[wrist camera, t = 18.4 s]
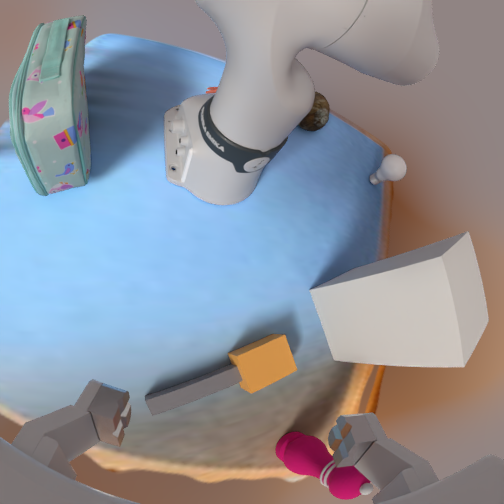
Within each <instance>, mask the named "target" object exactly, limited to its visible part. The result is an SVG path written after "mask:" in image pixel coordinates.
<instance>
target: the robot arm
mask: <svg viewBox="0 0 504 504" xmlns="http://www.w3.org/2000/svg"><path fill="white" fill-rule="evenodd" d="M195 2H196V3H197V5H198V6H199V7H200V8H201V9H202V10H203V11H204V12H205V13H206V14H207V15H208V16H209V17H210V18H211V19H212V20H213V22H214V23H215V24H216V26H217V27H218V29H219V30H220V33H221V35H222V37H223V40H224V43H225V46H226V64H225V68H224V71H223V74H222V77H221V80H220V83H219V85H218V87H210V88H207V89H210V90H209V91H206V93H207V94H202V95H196V96H192V97H190V98H187V99H186V100H184V101H183V102H182V103H181V104H180V105H177V106H175V107H173V108H171V109H169V110H168V111H166V112H165V114H164V146H165V166H166V178H167V180H168V181H169V182H171V183H173V184H175V185H178V186H181V187H184V188H186V189H187V190H189V191H190V192H191V193H192V194H194V195H195V196H196V197H198V198H200V199H201V200H203V201H206V202H208V203H212V204H216V205H231V204H236V203H239V202H241V201H243V200H245V199H246V198H247V197H249V196H250V195H251V193H252V192H253V191H254V189H255V187H256V184H257V181H258V178H259V176H260V174H261V172H262V170H263V168H264V167H265V165H266V164H267V163H269V162H270V161H271V160H272V159H273V158H274V156H275V155H276V154H277V153H278V152H279V151H280V149H281V148H282V147H283V146H284V144H285V143H286V141H287V139H288V135H289V134H290V133H291V132H292V131H293V130H294V128H295V127H296V126H297V125H298V124H299V123H300V122H301V121H302V120H303V118H304V117H305V116H306V115H307V114H308V113H309V112H310V110H311V109H312V106H313V103H314V98H315V88H314V84H313V81H312V79H311V77H310V75H309V74H308V72H307V71H306V69H305V68H304V67H303V65H302V64H301V63H300V62H299V61H298V60H297V59H296V58H295V57H296V55H297V54H298V53H299V52H300V51H301V50H303V49H304V48H309V49H313V50H316V51H318V52H321V53H323V54H325V55H327V56H329V57H332V58H334V59H336V60H338V61H340V62H342V63H344V64H346V65H348V66H350V67H352V68H354V69H356V70H358V71H359V72H361V73H363V74H366V75H369V76H372V77H375V78H378V79H381V80H384V81H387V82H390V83H393V84H396V85H403V86H405V85H412V84H415V83H417V82H419V81H421V80H422V79H424V78H425V77H426V76H428V75H429V74H430V72H431V71H432V70H433V68H434V67H435V65H436V63H437V60H438V57H439V42H438V39H437V35H436V32H435V28H434V21H433V13H432V0H195ZM208 93H215V94H208ZM177 110H178V111H177ZM172 168H175V169H176V170H172ZM129 398H130V397H129V392H128V391H125V390H122V389H119V388H116V387H113V386H110V385H107V384H105V383H101V382H99V381H96V380H93V379H92V380H91V381H89V383H88V384H87V386H86V387H85V389H84V391H83V392H82V394H81V395H80V397H79V399H78V400H77V402H76V403H75V405H74V406H73V405H69V406H67V407H64V408H62V409H59V410H57V411H55V412H52V413H50V414H47V415H45V416H42V417H40V418H37V419H34V420H32V421H29V422H26V423H25V424H24V426H23V427H22V429H21V430H20V432H19V434H18V435H17V436H16V438H15V439H14V441H13V443H12V444H9V443H8V442H6V441H5V440H4V439H2V438H1V437H0V504H140V503H136V502H132V501H129V500H126V499H123V498H120V497H116V496H113V495H110V494H107V493H105V492H102V491H100V490H97V489H94V488H92V487H89V486H87V485H85V484H82V483H80V482H78V481H75V478H76V473H75V471H74V470H73V468H72V466H71V465H70V463H69V462H70V461H71V460H73V459H74V458H76V457H77V456H79V455H80V454H82V453H84V452H85V451H87V450H88V449H90V448H91V447H93V446H94V445H96V444H97V443H99V441H102V442H105V443H108V444H111V445H115V446H118V447H120V446H121V443H122V440H123V438H124V435H125V434H124V430H123V429H124V428H126V427H128V424H129V421H130V417H131V405H130V404H129V403H128V400H129ZM336 422H337V425H336V426H334V427H333V428H332V429H331V431H330V432H329V437H328V442H329V446H330V448H331V449H332V450H333V451H335V452H334V454H333V459H334V462H335V465H336V467H346V466H354V465H355V466H354V467H355V468H356V469H358V470H359V471H360V472H361V473H362V474H363V475H364V476H365V477H366V478H367V479H368V480H370V481H371V482H372V483H373V484H374V485H375V486H376V487H377V488H379V489H380V490H381V491H380V492H379V493H377V494H376V495H375V496H374V497H373V499H372V500H373V503H374V504H504V459H501V458H499V457H497V456H494V455H487V456H485V457H483V458H481V459H480V460H478V461H476V462H475V463H473V464H471V465H469V466H467V467H466V468H464V469H462V470H460V471H458V472H456V473H454V474H452V475H450V476H448V477H446V478H444V479H442V480H438V478H437V476H436V474H435V472H434V471H433V469H432V467H431V465H430V463H429V462H428V461H427V460H425V459H424V458H422V457H420V456H418V455H417V454H415V453H413V452H412V451H410V450H409V449H407V448H405V447H404V446H402V445H400V444H399V443H397V442H396V441H394V440H393V439H391V438H390V439H388V438H387V436H386V434H385V432H384V430H383V428H382V426H381V425H380V423H379V421H378V419H377V417H376V415H375V414H374V413H365V414H352V415H341V416H340V417H338V419H337V420H336Z"/></svg>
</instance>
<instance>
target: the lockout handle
mask: <svg viewBox="0 0 504 504" xmlns="http://www.w3.org/2000/svg"><path fill="white" fill-rule="evenodd" d="M228 356H229V358H230V361H231V363H232V364H230V365H228V366H226V367H223V368H221V369H218V370H216V371H213V372H211V373H208V374H206V375H203V376H201V377H198V378H195V379H193V380H190V381H187V382H185V383H182V384H179V385H176V386H173V387H171V388H168V389H165V390H162V391H159V392H156V393H153V394H150V395H146V396H145V401H146V403H147V405H148V408H149V410H150V412H151V414H152V416H153V415H156V414H159V413H162V412H165V411H168V410H171V409H173V408H176V407H179V406H182V405H185V404H187V403H190V402H193V401H195V400H198V399H200V398H203V397H206V396H208V395H211V394H213V393H215V392H218V391H220V390H223V389H225V388H227V387H230V386H232V385H234V384H237V383H240V386H241V388H243V389H244V390H246V391H248V392H250V393H253V392H256V391H258V390H260V389H262V388H264V387H266V386H268V385H270V384H272V383H274V382H276V381H278V380H280V379H281V378H283V377H285V376H287V375H289V374H291V373H293V372H294V371H296V370H297V368H296V365H295V362H294V359H293V356H292V353H291V350H290V348H289V345H288V342H287V339H286V336H285V335H283V334H271V335H269V336H267V337H265V338H263V339H260V340H258V341H256V342H253V343H251V344H249V345H246V346H244V347H242V348H239V349H237V350H234V351H232V352H230V353H228Z"/></svg>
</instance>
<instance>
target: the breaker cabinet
mask: <svg viewBox="0 0 504 504" xmlns="http://www.w3.org/2000/svg"><path fill="white" fill-rule="evenodd" d="M309 291H310V293H311V296H312V299H313V302H314V304H315V307H316V310H317V313H318V315H319V318H320V321H321V324H322V327H323V330H324V332H325V335H326V338H327V341H328V344H329V347H330V350H331V353H332V356H333V359H334V360H336V361H344V362H354V363H364V364H377V365H392V366H410V367H411V366H413V367H464V366H465V364H466V363H467V361H468V359H469V358H470V356H471V354H472V352H473V350H474V349H475V347H476V345H477V343H478V341H479V339H480V337H481V335H482V333H483V331H484V329H485V327H486V325H487V323H488V321H489V318H488V312H487V305H486V300H485V294H484V289H483V284H482V279H481V276H480V271H479V267H478V263H477V259H476V255H475V251H474V248H473V244H472V241H471V238H470V234H469V232H465V233H462V234H460V235H457V236H454V237H451V238H448V239H445V240H442V241H439V242H436V243H434V244H430V245H427V246H424V247H421V248H418V249H415V250H412V251H409V252H406V253H403V254H400V255H397V256H393V257H390V258H387V259H384V260H380V261H377V262H374V263H370V264H367V265H364V266H360V267H357V268H354V269H352V270H350V271H348V272H346V273H344V274H342V275H340V276H338V277H335V278H333V279H331V280H329V281H327V282H325V283H323V284H321V285H319V286H317V287H315V288H313V289H311V290H309Z"/></svg>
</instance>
